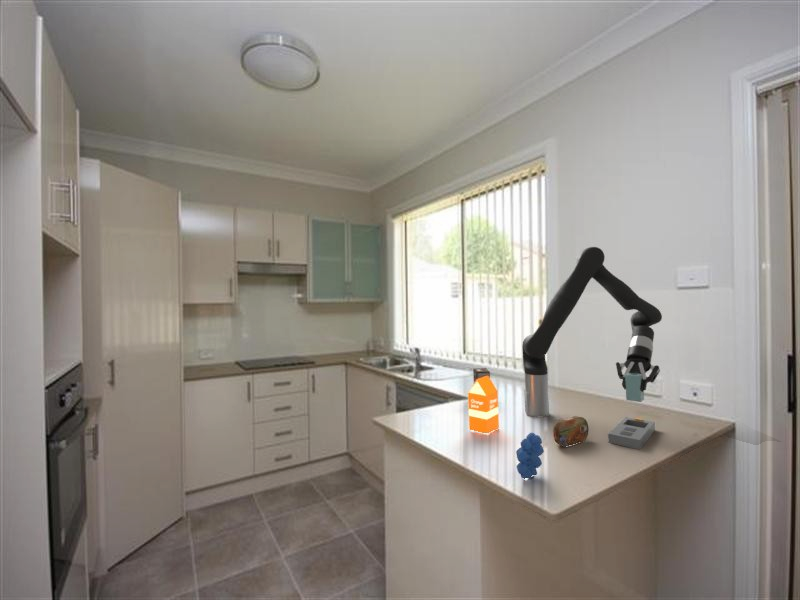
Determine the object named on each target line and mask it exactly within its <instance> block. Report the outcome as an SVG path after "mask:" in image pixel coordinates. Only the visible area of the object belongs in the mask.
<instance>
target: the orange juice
mask: <svg viewBox="0 0 800 600" xmlns="http://www.w3.org/2000/svg"><path fill="white" fill-rule="evenodd" d="M498 391H499V390H498V389H497V387H496V386H495V384H494V383H493V381H492V380H491V377H490V378H489V376H485V377H482V378H479V379H476V382H475V383H474V382H473V385H472V386H471V388H470V390H469V391H468V393H467V398H468V399H467V400H468V402H467V403H468V422H469V423H468V425H469V429H470V430H474V431H478V432H482V433H489V432H491V431H493V430H496V429H498V428H499V427H500V422H499V397H498V395H499V393H498ZM499 429H500V428H499ZM470 430H469V431H470Z"/></svg>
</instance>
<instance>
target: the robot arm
mask: <svg viewBox="0 0 800 600" xmlns="http://www.w3.org/2000/svg"><path fill="white" fill-rule="evenodd" d="M605 258H606V257H605V254H604V251H603V249H601V248H600V247H597V246H589V247H587V248H585V249H583V250H581V251H580V252H579V253H577V254H576V258H575V263H576V265H575V267H574V268H573V271H572V272H571V274H570V275H569V276H568V277H567V278H566V279H565V281H564V282H563V283H562V284H561V285H560V286H559V288H558V289H557V290H556V292H555V293H554V294H553V296H552V298H551V299H550V301H549V303H548V304H547V307H546V309H545V311H544V315H543V317H542V320H541V322H540V324H539V326H538V328H537V329H536V330H535V331H534V333H533V334H529V335H527V336H525V338H524V339H523V341H522V349H521V350H522V362H523V365H522V366H523V371H524V389H523V392H524V412H525V413H526V416H529V417H537V418H544V417H548V416H550V398H549V396H550V395H549V373H548V365H547V361H546V355H547V353H548V352H549V349H550V348H551V345H552V344H553V342H554V339H555V337H556V336H557V334H558V332H559V330H560V329H561V328H562V327H563V325H564V324H565V322H566V321H567V319H568V317H569V316H570V314H572V312H573V310H574V309H575V306H577V304H578V303H579V300H580V299H581V297H582V295H583V293H584V291H585V289H586V287H587V285H588V284H589V282H590V281H591V279H593V280H594V281H595V282H597V283H598V284H599V285H600V286H601V287H602V288H603V289H604V290H605V291H606V292H607V293H608V294H610V296H611V297H612V298H613V299H614V300H615V301H616V303H618V304H619V305H620V306H621V308H623V309H624V310H626V311H630V310H631V311H633V310H636V311H635V312H634V313H632V315H631V317H630V319H629V320H630V325H631V330H632V333H631V338H630V341H629V344H628V348H627V355H626V360H625V361H624V362H616V363H615V366H616V371H617V376H618V379H619V380H622V382H621V386H622V388H623V389H624V390H625V391H626V382H625V375H626V374H627V373H637V374H642V380H641V386H640V390H641V392H644V393H645V391H646V390H647V385H648V383H654V382H655V381H656V379H657V377H658V376H659V375H660V374H659V373H660V372H661V369H660V366H659V365H658V364H657V365H652V356H653V352H654V351H653V350H654V346H653V345H654V339H655V337H654V336H655V331H654V329H653V328H652V326H653V325H657V324H658V323H660V322H661V321H662V319H663V314H662V313H661V310H660V309H658V308H657V307H656V306H655V305H653V304H651V303H649V302H648V301H646V300H645V299H643V298H641V297H639V295H638V294H637V293H636V292H635V291H634V290H633V288H631V287H630V286H629V285H628V284H626V283H625V281H622V280H621V279H619V278H618V277H617V276H615V275H614V274H613V273H612V272H610V271H609V270H608V269H607V268H606V267H605V265H604V262H605ZM624 368H626V369H625V372H624V373H623V371H622V370H623V369H624ZM650 370H651V372H650V374H649V376H647V374H646V373H647V372H649V371H650Z"/></svg>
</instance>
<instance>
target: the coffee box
mask: <svg viewBox="0 0 800 600" xmlns="http://www.w3.org/2000/svg"><path fill="white" fill-rule="evenodd" d="M472 369H473V370H472V371H473V384H474V383H475V382H476V379H479V378H482V377H485V376H489V378H490V379H491V372H490V370H489V369H488V368H486V367H480V368H479V367H476V368H472Z"/></svg>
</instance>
